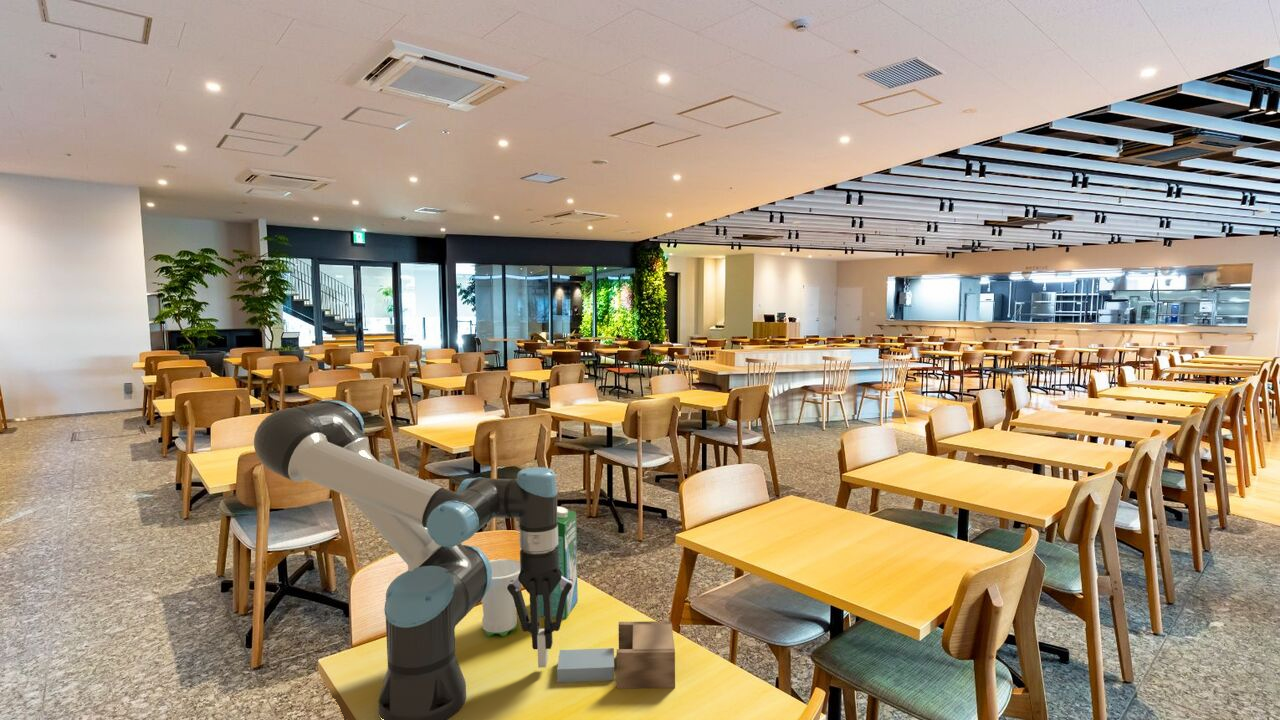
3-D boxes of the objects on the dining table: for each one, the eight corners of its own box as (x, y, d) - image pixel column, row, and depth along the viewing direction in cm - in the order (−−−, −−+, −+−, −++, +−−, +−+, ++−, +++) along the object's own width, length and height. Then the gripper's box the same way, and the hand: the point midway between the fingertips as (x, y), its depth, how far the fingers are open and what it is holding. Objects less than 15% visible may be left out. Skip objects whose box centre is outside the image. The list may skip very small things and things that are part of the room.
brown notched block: (617, 688, 118) (616, 652, 117) (619, 654, 130) (618, 621, 129) (675, 687, 118) (674, 652, 118) (671, 653, 130) (671, 621, 130)
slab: (557, 684, 120) (557, 669, 120) (560, 664, 127) (559, 650, 127) (614, 682, 121) (614, 667, 121) (613, 662, 128) (613, 648, 128)
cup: (535, 625, 143) (534, 564, 142) (501, 647, 133) (499, 582, 132) (498, 613, 148) (497, 555, 148) (463, 633, 139) (461, 571, 138)
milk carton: (566, 618, 146) (564, 514, 144) (529, 615, 147) (527, 511, 146) (577, 601, 154) (576, 502, 153) (543, 598, 156) (541, 500, 155)
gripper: (501, 555, 118) (506, 675, 120) (570, 554, 118) (573, 673, 120) (510, 541, 126) (514, 654, 127) (574, 540, 126) (577, 652, 127)
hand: (543, 663), depth 124 cm, fingers closed
